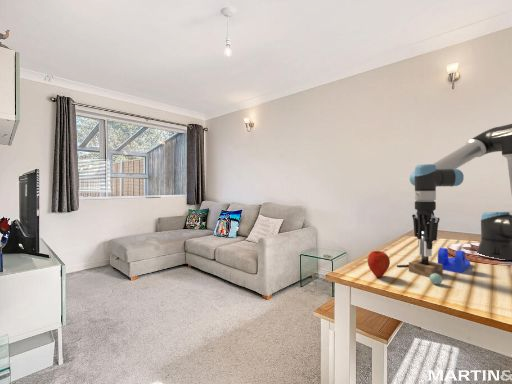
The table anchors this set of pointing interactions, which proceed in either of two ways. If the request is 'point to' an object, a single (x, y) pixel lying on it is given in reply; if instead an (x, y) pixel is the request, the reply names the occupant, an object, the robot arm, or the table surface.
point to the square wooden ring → (425, 268)
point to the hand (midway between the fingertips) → (425, 255)
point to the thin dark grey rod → (402, 265)
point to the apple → (378, 263)
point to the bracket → (453, 261)
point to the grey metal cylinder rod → (423, 259)
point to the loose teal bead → (435, 278)
